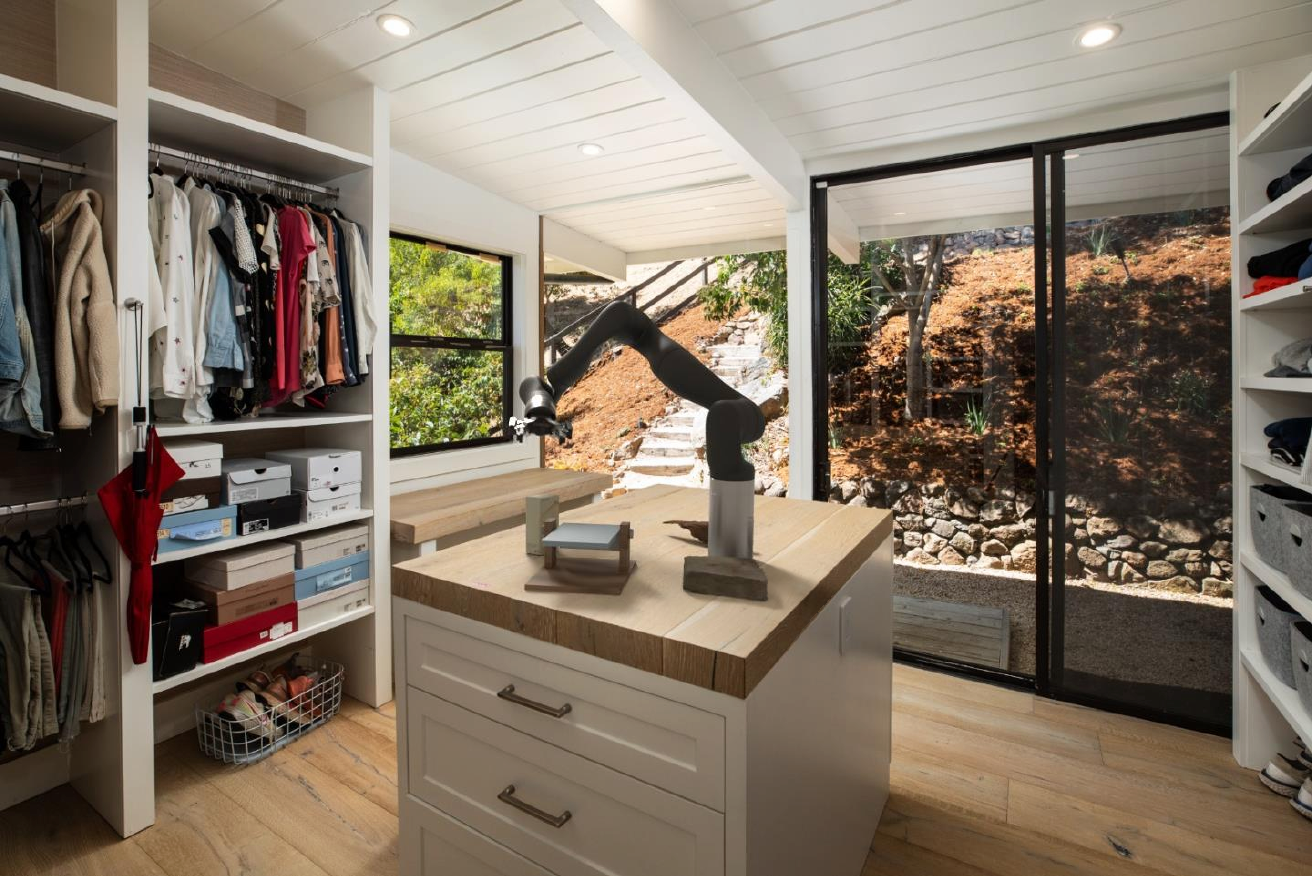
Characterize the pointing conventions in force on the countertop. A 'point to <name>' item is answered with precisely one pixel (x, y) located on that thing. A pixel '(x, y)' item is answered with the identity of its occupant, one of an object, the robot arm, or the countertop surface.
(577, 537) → the trapdoor flap
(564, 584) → the frame
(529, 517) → the skincare box
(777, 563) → the countertop surface
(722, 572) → the grey brown flat block
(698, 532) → the bird sculpture
